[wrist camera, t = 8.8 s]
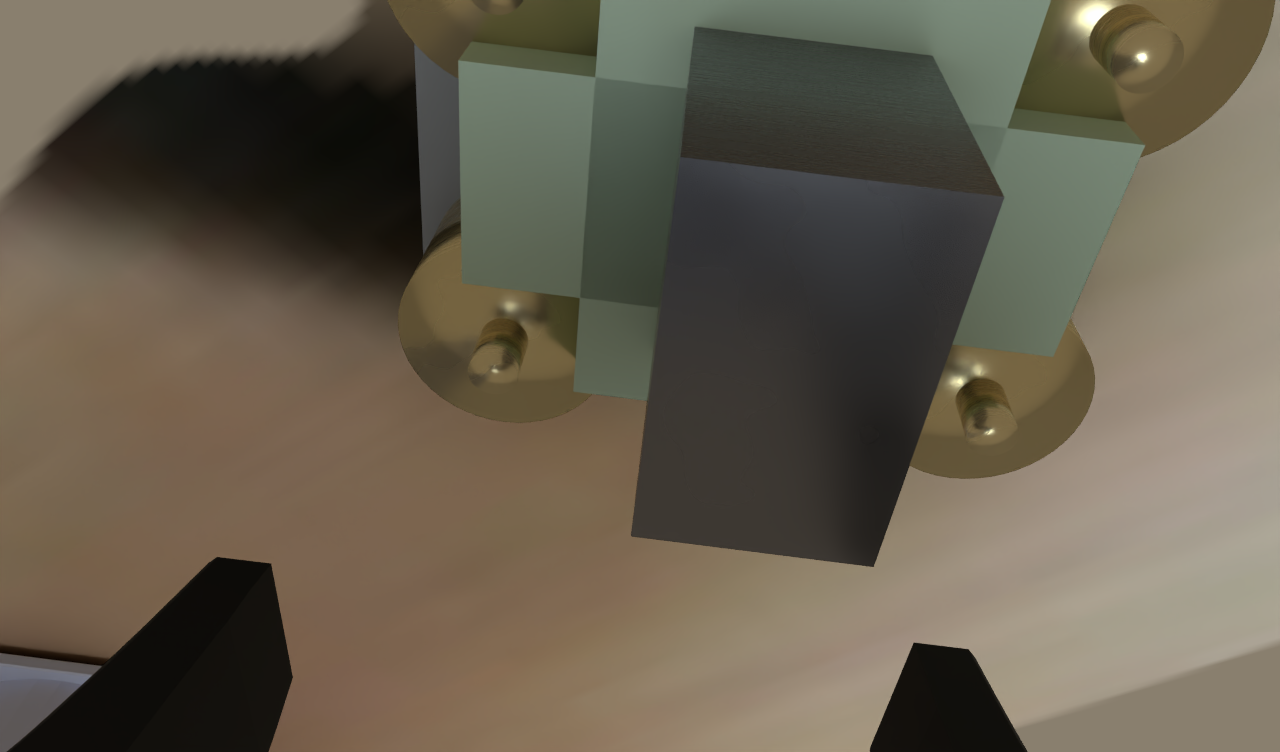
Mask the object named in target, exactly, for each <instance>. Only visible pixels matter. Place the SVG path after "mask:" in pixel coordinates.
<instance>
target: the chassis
mask: <svg viewBox="0 0 1280 752" xmlns="http://www.w3.org/2000/svg"><path fill="white" fill-rule="evenodd" d="M387 1H388V3H389V5H390V7H391V9H392V11H393V13H394V15H395V17H396V18H397V20H398V21H399V23H400V24H401V26H402V27H403V29H404V31H405V32H406V33H407V35H408V36H409V37H410V38H411V40H412V41H413V42H414V49H415V73H416V96H417V119H418V142H419V165H420V189H421V212H422V235H423V257H422V259H421V261H420V263H419V264H418V266H417V268H416V270H415V272H414V274H413V276H412V278H411V280H410V281H409V283H408V285H407V287H406V289H405V291H404V293H403V296H402V299H401V302H400V307H399V312H398V329H399V336H400V340H401V343H402V347H403V350H404V352H405V354H406V356H407V359H408V361H409V362H410V364H411V365H412V367H413V369H414V370H415V372H416V373H417V374H418V375H419V377H420V378H421V379H422V380H423V381H424V382H425V383H426V384H427V385H428V386H429V387H430V388H431V389H432V390H433V391H434V392H435V393H437V394H438V395H439V396H440V397H442V398H443V399H445V400H446V401H448V402H449V403H451V404H453V405H454V406H456V407H458V408H460V409H462V410H464V411H466V412H469V413H472V414H474V415H477V416H480V417H484V418H487V419H491V420H497V421H502V422H514V423H522V422H535V421H542V420H546V419H550V418H554V417H557V416H559V415H562V414H565V413H567V412H568V411H570V410H572V409H574V408H576V407H577V406H579V405H580V404H581V403H583V402H584V401H586V400H587V399H588V398H589V397H590V396H591V395H592V394H588V393H580V392H573V389H574V374H575V360H576V346H577V331H578V317H579V303H580V298H576V297H568V296H560V295H552V294H544V293H536V292H528V291H520V290H512V289H504V288H496V287H488V286H480V285H472V284H464V283H462V257H461V195H460V133H459V71H458V60H459V59H460V57H461V56H462V55H463V53H464V52H465V50H466V49H467V47H468V46H469V45H470V43H471V42H472V41H473V42H481V43H489V44H498V45H506V46H514V47H522V48H530V49H538V50H546V51H554V52H562V53H571V54H579V55H587V56H595V57H597V45H598V31H599V17H600V3H601V0H387ZM1274 5H1275V0H1051V2H1050V5H1049V8H1048V11H1047V13H1046V16H1045V19H1044V22H1043V25H1042V28H1041V31H1040V34H1039V37H1038V40H1037V43H1036V46H1035V49H1034V52H1033V55H1032V58H1031V60H1030V63H1029V66H1028V69H1027V72H1026V75H1025V78H1024V81H1023V84H1022V87H1021V90H1020V93H1019V96H1018V99H1017V102H1016V105H1015V107H1014V108H1017V109H1025V110H1033V111H1041V112H1049V113H1057V114H1066V115H1074V116H1082V117H1090V118H1098V119H1106V120H1114V121H1122V122H1126V123H1127V125H1128V126H1129V127H1130V128H1131V129H1132V130H1133V132H1134V133H1135V134H1136V135H1137V136H1138V137H1139V139H1140V140H1141V141H1142V142H1143V143H1144V144H1145V147H1144V149H1143V152H1142V154H1141V156H1140V157H1143V156H1145V155H1148V154H1150V153H1153V152H1155V151H1158V150H1160V149H1162V148H1164V147H1166V146H1168V145H1170V144H1172V143H1174V142H1176V141H1178V140H1179V139H1181V138H1183V137H1184V136H1186V135H1187V134H1189V133H1190V132H1192V131H1193V130H1195V129H1196V128H1197V127H1199V126H1200V125H1201V124H1203V123H1204V122H1205V121H1206V120H1208V119H1209V118H1210V117H1211V116H1212V115H1213V114H1214V113H1215V112H1216V111H1218V110H1219V109H1220V108H1221V107H1222V106H1223V105H1224V104H1225V103H1226V102H1227V101H1228V99H1229V98H1230V97H1231V96H1232V95H1233V94H1234V92H1235V91H1236V90H1237V89H1238V88H1239V86H1240V85H1241V83H1242V82H1243V81H1244V79H1245V78H1246V76H1247V75H1248V73H1249V72H1250V71H1251V69H1252V67H1253V65H1254V63H1255V61H1256V60H1257V58H1258V56H1259V54H1260V52H1261V50H1262V47H1263V45H1264V42H1265V40H1266V38H1267V35H1268V32H1269V28H1270V25H1271V21H1272V17H1273V12H1274ZM1094 387H1095V375H1094V367H1093V364H1092V361H1091V358H1090V355H1089V353H1088V351H1087V349H1086V347H1085V345H1084V343H1083V341H1082V340H1081V338H1080V336H1079V334H1078V332H1077V330H1076V328H1075V326H1074V324H1073V322H1072V320H1071V318H1070V319H1069V322H1068V324H1067V326H1066V329H1065V331H1064V333H1063V336H1062V338H1061V340H1060V342H1059V345H1058V347H1057V349H1056V352H1055V354H1054V356H1053V357H1049V356H1041V355H1033V354H1025V353H1017V352H1009V351H1001V350H993V349H985V348H977V347H969V346H961V345H953V344H952V347H951V350H950V353H949V355H948V358H947V361H946V364H945V367H944V370H943V372H942V375H941V378H940V381H939V384H938V386H937V389H936V392H935V395H934V398H933V401H932V403H931V406H930V409H929V412H928V415H927V418H926V420H925V423H924V426H923V429H922V432H921V434H920V437H919V440H918V443H917V446H916V449H915V451H914V454H913V457H912V460H911V463H910V466H912V467H914V468H916V469H918V470H921V471H923V472H926V473H930V474H933V475H937V476H943V477H948V478H961V479H970V478H984V477H991V476H996V475H1001V474H1005V473H1009V472H1012V471H1015V470H1018V469H1021V468H1023V467H1026V466H1028V465H1030V464H1032V463H1034V462H1036V461H1038V460H1040V459H1042V458H1044V457H1045V456H1047V455H1048V454H1050V453H1051V452H1053V451H1054V450H1055V449H1057V448H1058V447H1059V446H1060V445H1062V444H1063V443H1064V442H1065V441H1066V440H1067V439H1068V438H1069V437H1070V436H1071V435H1072V434H1073V433H1074V432H1075V430H1076V429H1077V428H1078V426H1079V425H1080V424H1081V422H1082V421H1083V419H1084V417H1085V415H1086V414H1087V412H1088V409H1089V407H1090V404H1091V402H1092V398H1093V393H1094Z"/></svg>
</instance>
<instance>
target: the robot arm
mask: <svg viewBox="0 0 1280 752" xmlns="http://www.w3.org/2000/svg"><path fill="white" fill-rule="evenodd" d="M292 678H293V676H292V671H291V666H290V660H289V655H288V650H287V645H286V639H285V634H284V629H283V624H282V618H281V613H280V608H279V603H278V598H277V592H276V587H275V582H274V577H273V571H272V566H271V564H269V563H261V562H253V561H245V560H237V559H229V558H220V557H217V558H215V559H214V560H212V561H211V562H209V563H208V564H207V565H206V566H205V567H204V568H203V569H202V570H201V571H200V572H199V573H198V574H197V575H196V576H195V577H194V578H193V579H192V580H191V581H190V582H189V583H188V584H187V585H186V586H185V587H184V588H183V589H182V590H181V591H180V592H179V593H178V594H177V595H176V596H175V597H174V598H172V599H171V600H170V601H169V602H168V603H167V604H166V605H165V606H164V607H163V608H162V609H161V610H160V611H159V612H158V613H157V614H156V615H155V616H154V617H153V618H152V619H151V620H150V621H149V622H148V623H147V624H146V625H145V626H144V627H143V628H142V629H141V630H140V631H139V632H138V633H137V634H136V635H134V636H133V637H132V638H131V639H130V640H129V641H128V642H127V643H126V644H125V645H124V646H123V647H122V648H121V649H120V650H119V651H118V652H117V653H116V654H115V655H114V656H112V657H111V658H110V659H109V660H108V661H107V662H106V663H105V664H104V665H103V666H98V665H90V664H83V663H75V662H67V661H59V660H51V659H43V658H35V657H28V656H20V655H12V654H4V653H0V752H268V751H269V748H270V746H271V743H272V740H273V737H274V734H275V731H276V728H277V725H278V722H279V719H280V716H281V713H282V710H283V706H284V703H285V700H286V697H287V694H288V691H289V688H290V684H291V681H292ZM870 752H1027V750H1026V748H1025V746H1024V745H1023V743H1022V741H1021V740H1020V738H1019V736H1018V734H1017V733H1016V731H1015V729H1014V727H1013V725H1012V724H1011V722H1010V720H1009V718H1008V717H1007V715H1006V713H1005V711H1004V709H1003V708H1002V706H1001V704H1000V702H999V700H998V699H997V697H996V695H995V693H994V691H993V690H992V688H991V686H990V684H989V682H988V680H987V679H986V677H985V675H984V673H983V671H982V669H981V668H980V666H979V664H978V662H977V660H976V658H975V657H974V656H973V654H972V653H971V652H970V651H969V649H962V648H953V647H945V646H937V645H929V644H921V643H913V646H912V648H911V651H910V653H909V655H908V658H907V660H906V663H905V665H904V668H903V670H902V672H901V675H900V677H899V680H898V682H897V684H896V687H895V689H894V692H893V694H892V696H891V699H890V701H889V704H888V706H887V709H886V711H885V713H884V716H883V718H882V721H881V723H880V725H879V728H878V730H877V733H876V735H875V737H874V740H873V742H872V745H871V747H870Z"/></svg>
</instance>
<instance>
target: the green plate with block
mask: <svg viewBox="0 0 1280 752" xmlns="http://www.w3.org/2000/svg"><path fill="white" fill-rule="evenodd" d="M1050 2H1051V0H601V3H600V17H599V31H598V45H597V57H595V56H587V55H579V54H571V53H562V52H554V51H546V50H538V49H530V48H522V47H514V46H506V45H498V44H489V43H481V42H473V41H472V42H471V43H470V45H469V46H468V47H467V49H466V50H465V52H464V53H463V55H462V56H461V57H460V59H459V60H458V71H459V133H460V195H461V257H462V283H464V284H472V285H480V286H488V287H496V288H504V289H512V290H520V291H528V292H536V293H544V294H552V295H560V296H568V297H576V298H580V303H579V317H578V331H577V346H576V360H575V374H574V389H573V392H580V393H588V394H596V395H604V396H612V397H620V398H628V399H636V400H644V401H647V406H646V414H645V423H644V431H643V439H642V448H641V456H640V465H639V473H638V481H637V490H636V498H635V507H634V515H633V524H632V532H631V536H632V537H640V538H648V539H656V540H664V541H672V542H680V543H688V544H696V545H704V546H712V547H720V548H728V549H735V550H743V551H751V552H759V553H767V554H775V555H783V556H791V557H799V558H807V559H815V560H823V561H831V562H839V563H847V564H854V565H862V566H870V567H874V564H875V561H876V559H877V556H878V553H879V550H880V547H881V544H882V542H883V539H884V536H885V533H886V530H887V528H888V525H889V522H890V519H891V516H892V513H893V511H894V508H895V505H896V502H897V499H898V497H899V494H900V491H901V488H902V485H903V482H904V480H905V477H906V474H907V471H908V468H909V465H910V463H911V460H912V457H913V454H914V451H915V449H916V446H917V443H918V440H919V437H920V434H921V432H922V429H923V426H924V423H925V420H926V418H927V415H928V412H929V409H930V406H931V403H932V401H933V398H934V395H935V392H936V389H937V386H938V384H939V381H940V378H941V375H942V372H943V370H944V367H945V364H946V361H947V358H948V355H949V353H950V350H951V347H952V344H953V345H961V346H969V347H977V348H985V349H993V350H1001V351H1009V352H1017V353H1025V354H1033V355H1041V356H1049V357H1053V356H1054V354H1055V352H1056V349H1057V347H1058V345H1059V342H1060V340H1061V338H1062V336H1063V333H1064V331H1065V329H1066V326H1067V324H1068V322H1069V319H1070V317H1071V315H1072V313H1073V310H1074V308H1075V306H1076V303H1077V301H1078V299H1079V297H1080V294H1081V292H1082V290H1083V287H1084V285H1085V283H1086V280H1087V278H1088V276H1089V274H1090V271H1091V269H1092V267H1093V264H1094V262H1095V260H1096V257H1097V255H1098V253H1099V251H1100V248H1101V246H1102V244H1103V241H1104V239H1105V237H1106V234H1107V232H1108V230H1109V228H1110V225H1111V223H1112V221H1113V218H1114V216H1115V214H1116V211H1117V209H1118V207H1119V205H1120V202H1121V200H1122V198H1123V195H1124V193H1125V191H1126V188H1127V186H1128V184H1129V182H1130V179H1131V177H1132V175H1133V172H1134V170H1135V168H1136V165H1137V163H1138V161H1139V159H1140V156H1141V154H1142V152H1143V149H1144V147H1145V144H1144V143H1143V142H1142V141H1141V140H1140V139H1139V137H1138V136H1137V135H1136V134H1135V133H1134V132H1133V130H1132V129H1131V128H1130V127H1129V126H1128V125H1127V123H1126V122H1122V121H1114V120H1106V119H1098V118H1090V117H1082V116H1074V115H1066V114H1057V113H1049V112H1041V111H1033V110H1025V109H1017V108H1014V107H1015V105H1016V102H1017V99H1018V96H1019V93H1020V90H1021V87H1022V84H1023V81H1024V78H1025V75H1026V72H1027V69H1028V66H1029V63H1030V60H1031V58H1032V55H1033V52H1034V49H1035V46H1036V43H1037V40H1038V37H1039V34H1040V31H1041V28H1042V25H1043V22H1044V19H1045V16H1046V13H1047V11H1048V8H1049V5H1050Z"/></svg>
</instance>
